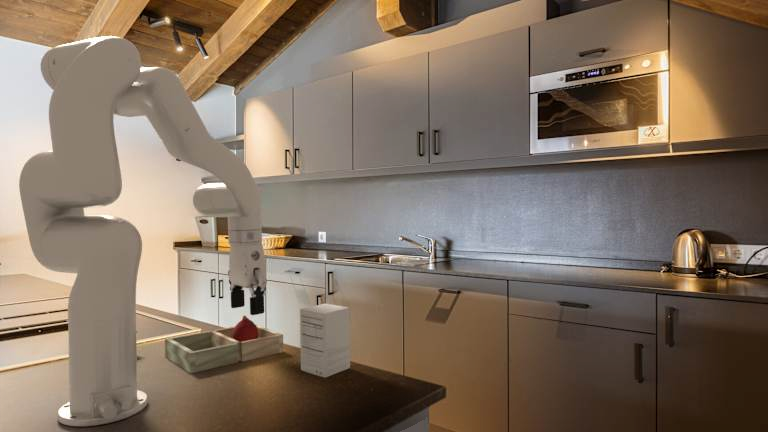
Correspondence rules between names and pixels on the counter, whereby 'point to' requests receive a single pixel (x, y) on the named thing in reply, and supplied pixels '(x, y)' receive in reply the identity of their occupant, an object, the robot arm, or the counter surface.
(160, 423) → the counter surface
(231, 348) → the compartment tray
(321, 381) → the counter surface
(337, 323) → the supplement box
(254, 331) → the onion
